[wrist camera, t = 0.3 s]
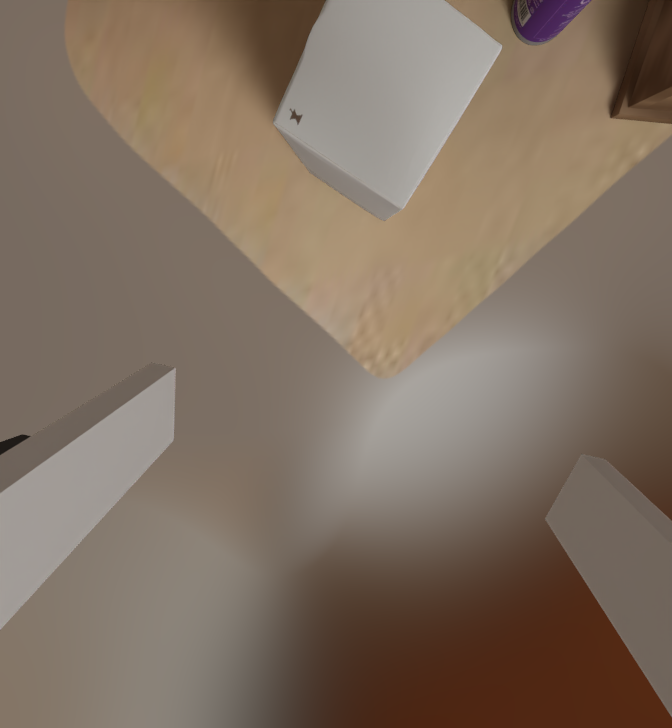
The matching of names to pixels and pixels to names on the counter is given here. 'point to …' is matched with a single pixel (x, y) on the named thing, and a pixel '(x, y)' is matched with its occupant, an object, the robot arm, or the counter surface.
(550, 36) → the container
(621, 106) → the open wooden box
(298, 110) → the supplement box
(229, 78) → the counter surface
